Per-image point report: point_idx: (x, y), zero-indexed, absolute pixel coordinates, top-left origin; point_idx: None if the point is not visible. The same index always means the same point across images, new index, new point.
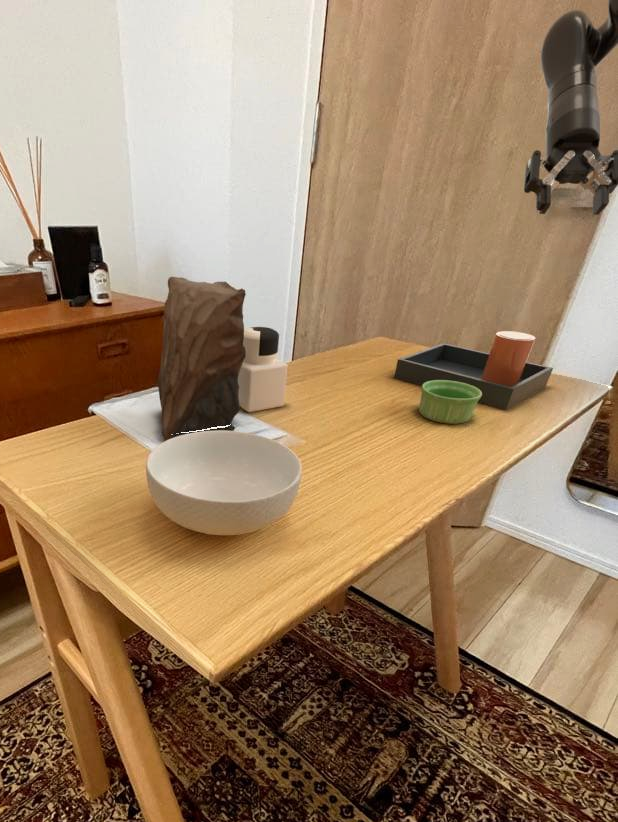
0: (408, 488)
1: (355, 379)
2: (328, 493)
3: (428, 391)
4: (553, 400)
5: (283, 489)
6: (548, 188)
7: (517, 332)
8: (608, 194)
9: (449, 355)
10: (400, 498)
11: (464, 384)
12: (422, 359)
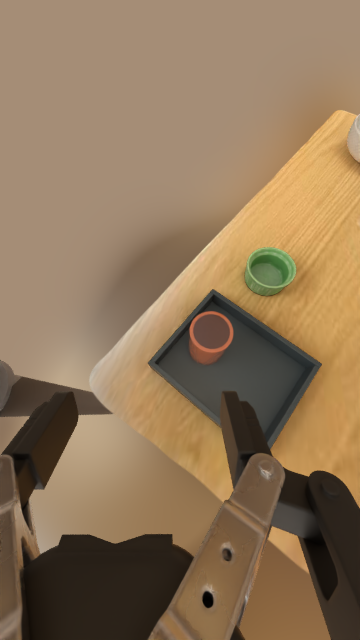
0: (289, 187)
1: (350, 355)
2: (328, 178)
3: (291, 258)
4: (158, 329)
5: (358, 116)
6: (245, 436)
7: (205, 345)
8: (20, 431)
9: None
10: (293, 180)
11: (258, 281)
12: (286, 404)
